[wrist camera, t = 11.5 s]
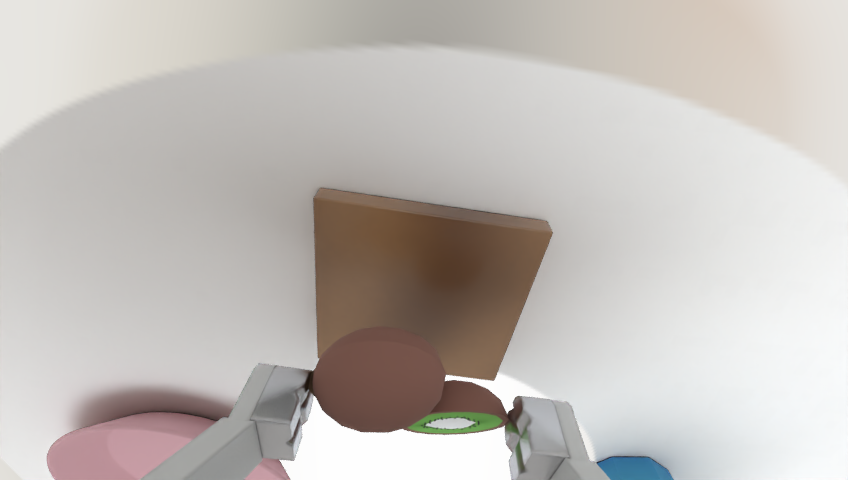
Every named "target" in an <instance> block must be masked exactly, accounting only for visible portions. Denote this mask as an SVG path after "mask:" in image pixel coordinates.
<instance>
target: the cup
mask: <svg viewBox="0 0 848 480" xmlns="http://www.w3.org/2000/svg"><path fill="white" fill-rule="evenodd" d="M597 465H598V466H599V467H600V468H601V469H602V470H603V471H604V473H605V474H606V475H607V476H608V477H609V478H610V479H611V480H673V478H672V476H671V474H670V473H669V471H668V470H667V469H666V468H664V467H663V466H661V465H660V464H658V463H657V462H655V461H654V460H652V459H651V458H649V457H611V458H609V459H606V460H604V461H601V462H599V463H597Z"/></svg>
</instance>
